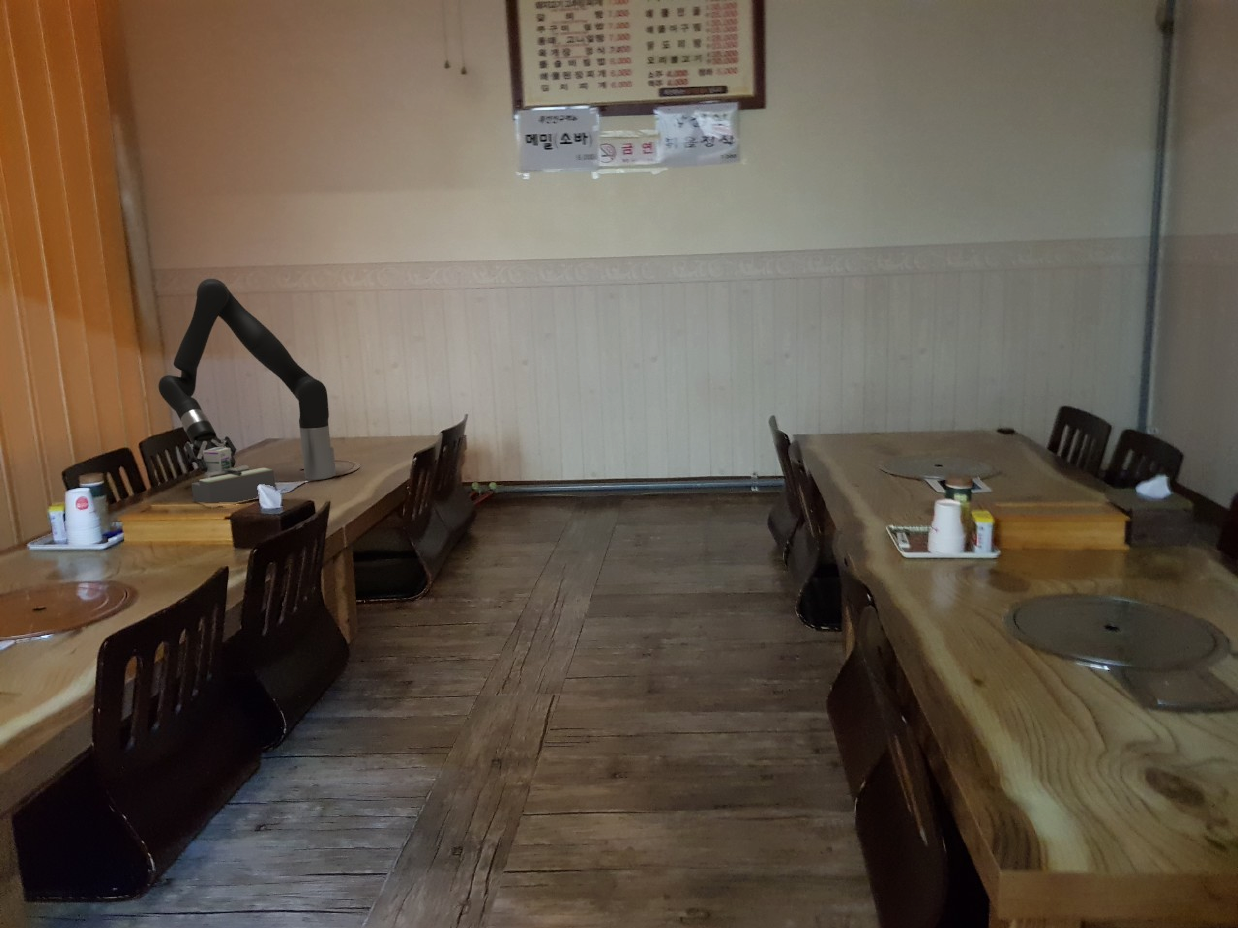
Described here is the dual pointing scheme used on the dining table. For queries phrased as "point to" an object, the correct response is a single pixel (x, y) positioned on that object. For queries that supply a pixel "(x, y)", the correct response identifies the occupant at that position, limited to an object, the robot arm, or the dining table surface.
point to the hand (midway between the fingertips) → (219, 468)
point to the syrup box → (217, 459)
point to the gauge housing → (232, 486)
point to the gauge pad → (228, 471)
